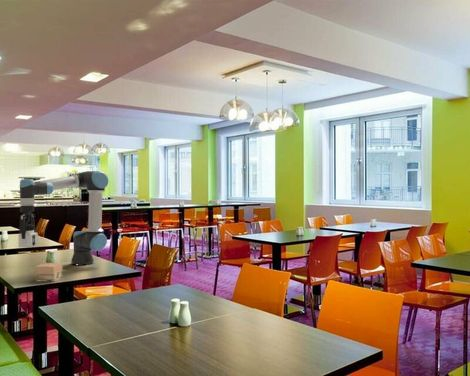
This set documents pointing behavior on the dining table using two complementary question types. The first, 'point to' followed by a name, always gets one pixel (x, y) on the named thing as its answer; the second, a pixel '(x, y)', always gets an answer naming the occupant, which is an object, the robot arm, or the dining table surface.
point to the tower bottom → (48, 276)
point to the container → (29, 237)
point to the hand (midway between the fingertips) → (27, 243)
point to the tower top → (48, 268)
